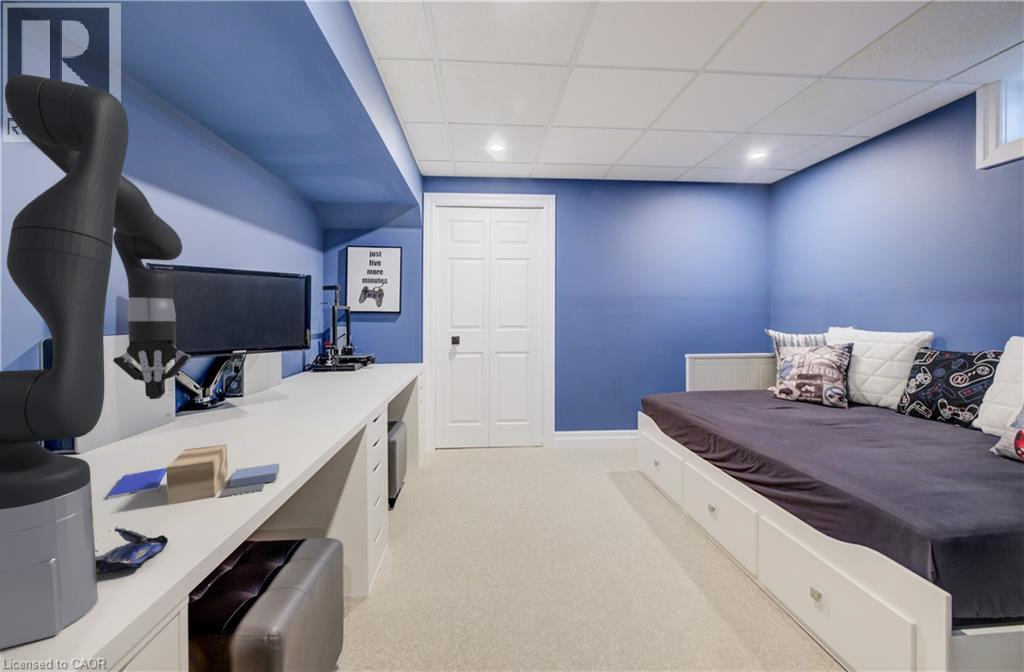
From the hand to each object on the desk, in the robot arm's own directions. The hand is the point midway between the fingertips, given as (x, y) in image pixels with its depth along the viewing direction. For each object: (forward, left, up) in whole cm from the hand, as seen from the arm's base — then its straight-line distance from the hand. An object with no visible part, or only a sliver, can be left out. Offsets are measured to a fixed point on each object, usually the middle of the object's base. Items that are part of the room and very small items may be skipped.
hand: (155, 398), depth 84 cm
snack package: (-27, -3, -23) cm, 35 cm away
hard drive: (+9, +7, -23) cm, 25 cm away
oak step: (0, -7, -22) cm, 23 cm away
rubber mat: (0, -16, -22) cm, 27 cm away
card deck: (0, -18, -20) cm, 27 cm away
